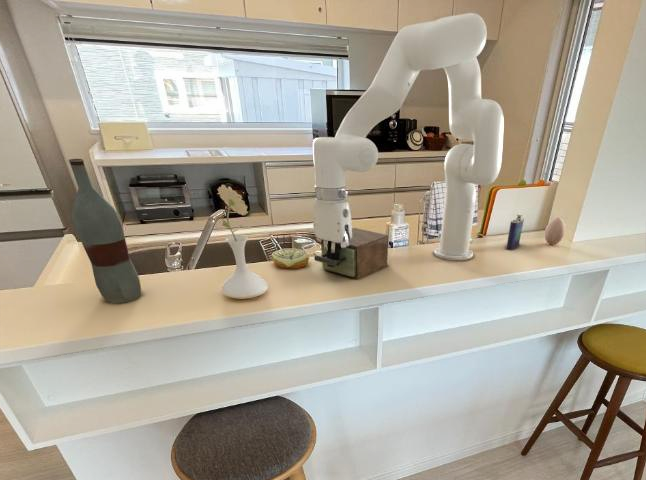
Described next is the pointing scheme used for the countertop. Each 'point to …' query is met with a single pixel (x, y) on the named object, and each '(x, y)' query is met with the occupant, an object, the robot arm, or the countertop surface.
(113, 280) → the bottle
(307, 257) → the decorated donut
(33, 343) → the countertop surface
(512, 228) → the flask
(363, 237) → the cabinet
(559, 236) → the egg
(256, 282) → the flower in vase
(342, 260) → the drawer
